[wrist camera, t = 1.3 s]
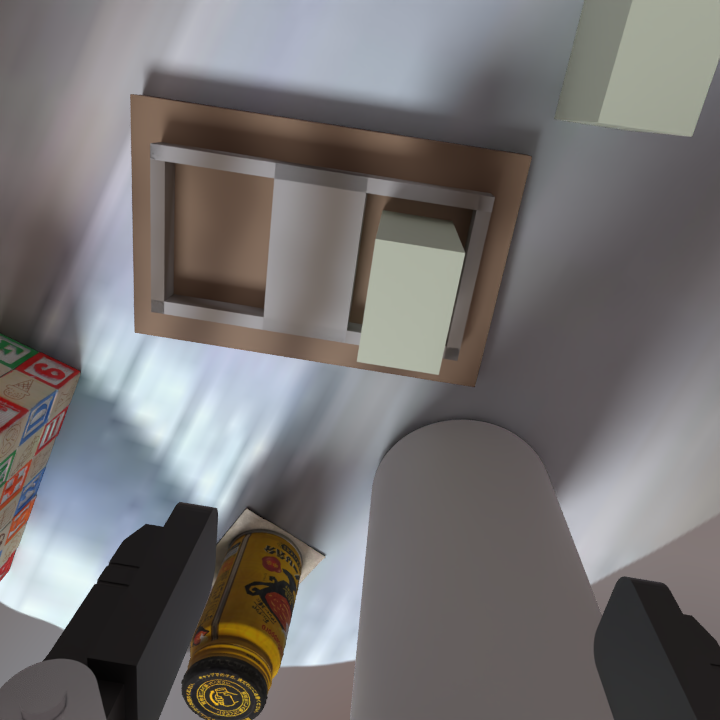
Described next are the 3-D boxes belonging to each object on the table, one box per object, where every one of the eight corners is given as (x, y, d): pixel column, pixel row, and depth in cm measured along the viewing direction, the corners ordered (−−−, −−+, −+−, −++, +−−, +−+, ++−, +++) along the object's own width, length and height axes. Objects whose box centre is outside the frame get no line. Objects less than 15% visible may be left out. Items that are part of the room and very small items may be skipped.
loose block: (553, 119, 32) (597, 122, 24) (586, -8, 29) (646, -47, 22) (626, 130, 32) (692, 136, 24) (664, 4, 29) (750, -31, 22)
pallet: (144, 324, 38) (124, 341, 36) (142, 94, 33) (117, 93, 30) (472, 377, 38) (477, 397, 35) (526, 154, 33) (537, 158, 30)
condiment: (325, 555, 45) (299, 697, 34) (268, 616, 48) (227, 765, 37) (247, 506, 44) (194, 638, 33) (193, 572, 47) (127, 713, 36)
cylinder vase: (584, 468, 40) (817, 940, 17) (481, 582, 45) (557, 1071, 22) (432, 382, 39) (468, 781, 16) (341, 511, 43) (267, 960, 20)
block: (367, 309, 35) (356, 361, 28) (382, 210, 33) (375, 238, 26) (432, 319, 35) (438, 374, 28) (452, 221, 33) (465, 253, 25)
